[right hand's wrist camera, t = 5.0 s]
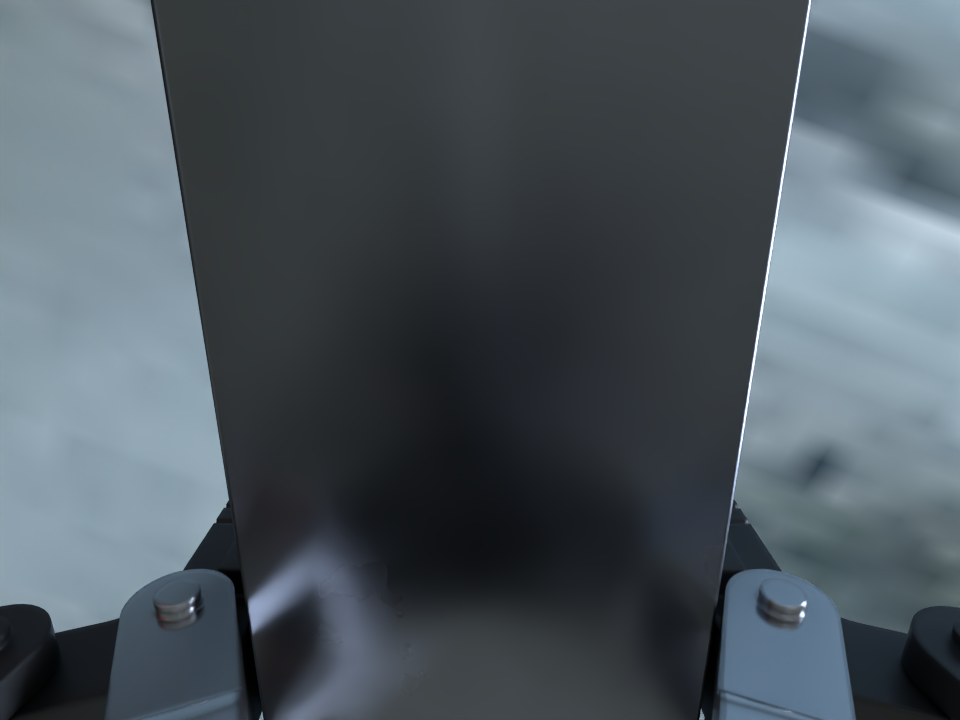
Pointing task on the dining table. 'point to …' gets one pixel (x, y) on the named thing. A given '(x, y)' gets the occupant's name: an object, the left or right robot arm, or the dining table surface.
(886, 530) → the dining table surface
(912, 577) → the dining table surface
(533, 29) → the bar
